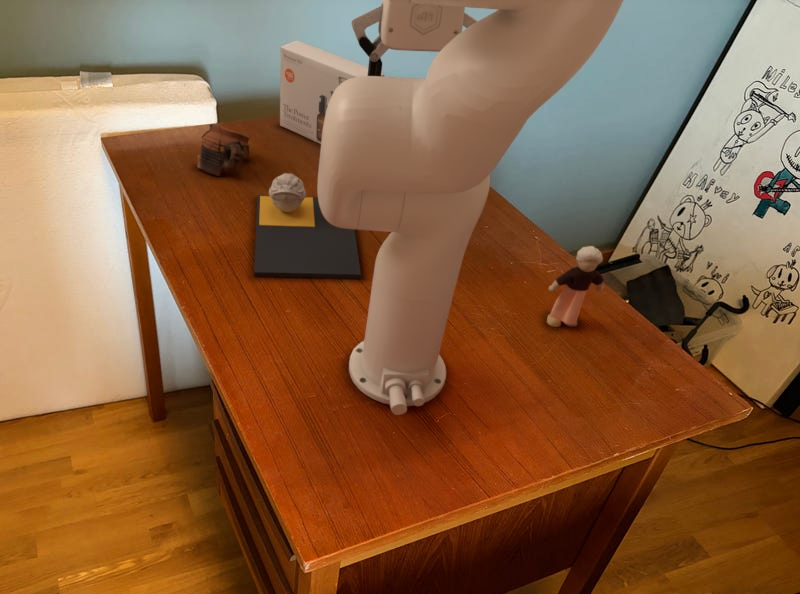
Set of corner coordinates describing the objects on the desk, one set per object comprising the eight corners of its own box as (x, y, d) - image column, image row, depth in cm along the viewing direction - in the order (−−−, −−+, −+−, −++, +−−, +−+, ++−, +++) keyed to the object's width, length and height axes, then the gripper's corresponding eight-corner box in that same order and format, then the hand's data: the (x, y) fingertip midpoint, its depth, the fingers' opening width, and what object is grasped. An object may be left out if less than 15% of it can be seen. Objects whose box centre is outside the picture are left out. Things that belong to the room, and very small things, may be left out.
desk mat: (360, 278, 104) (361, 273, 104) (254, 276, 103) (254, 271, 103) (349, 202, 120) (350, 197, 120) (257, 199, 119) (257, 194, 118)
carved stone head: (267, 220, 113) (267, 182, 108) (270, 198, 118) (270, 160, 113) (304, 223, 113) (306, 185, 108) (306, 201, 118) (308, 163, 113)
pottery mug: (185, 163, 128) (197, 118, 125) (229, 176, 133) (241, 133, 131) (212, 176, 119) (225, 128, 116) (258, 190, 124) (272, 144, 122)
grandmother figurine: (547, 332, 98) (576, 259, 89) (534, 315, 100) (561, 242, 92) (595, 326, 100) (627, 253, 91) (581, 309, 102) (611, 236, 94)
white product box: (277, 127, 140) (278, 45, 129) (295, 119, 143) (298, 38, 132) (359, 164, 131) (368, 79, 120) (376, 154, 134) (387, 71, 123)
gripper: (362, -50, 78) (349, 99, 90) (510, -43, 80) (478, 103, 92) (355, -66, 84) (343, 77, 96) (493, -58, 86) (465, 81, 97)
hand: (409, 89), depth 94 cm, fingers open, 9 cm apart
